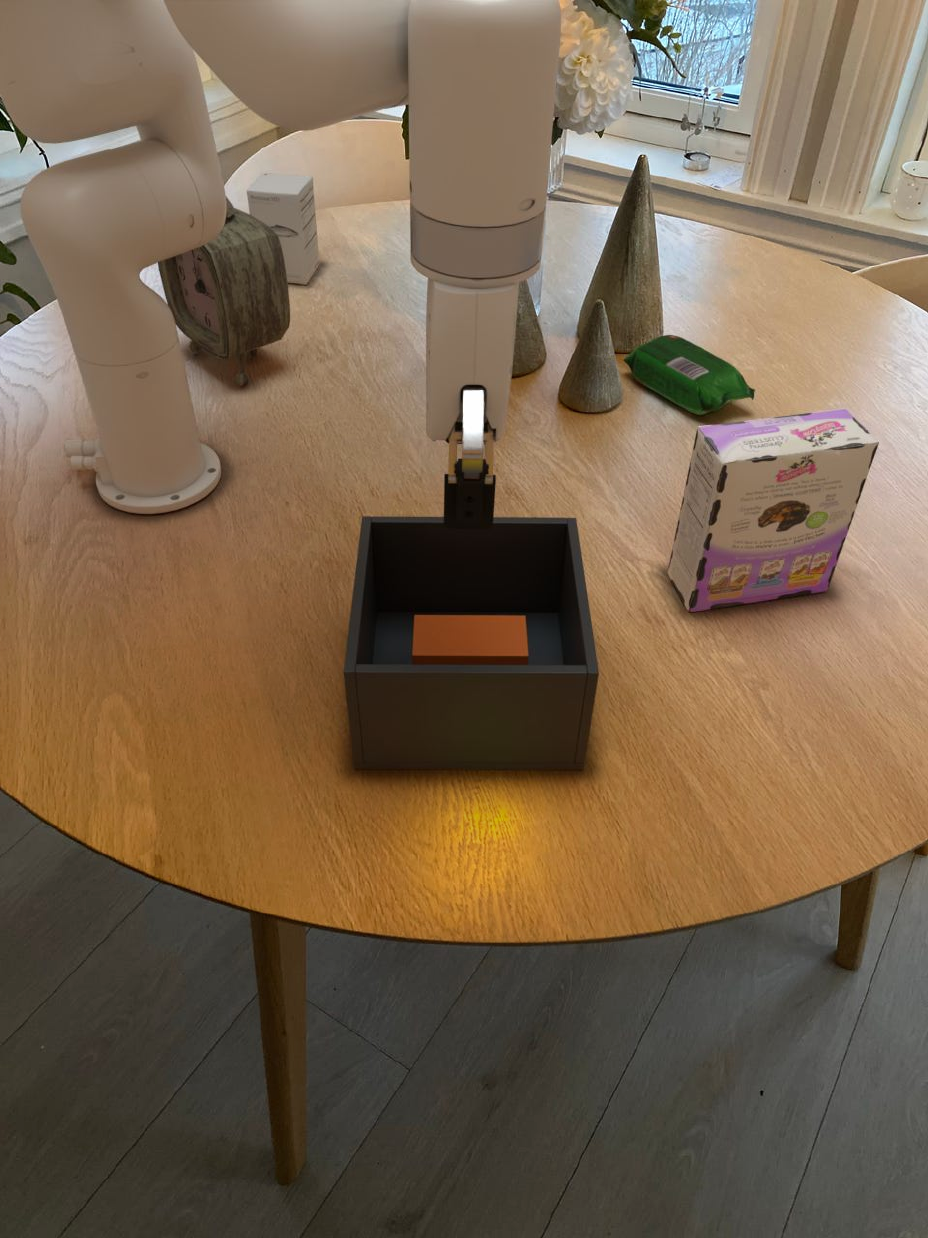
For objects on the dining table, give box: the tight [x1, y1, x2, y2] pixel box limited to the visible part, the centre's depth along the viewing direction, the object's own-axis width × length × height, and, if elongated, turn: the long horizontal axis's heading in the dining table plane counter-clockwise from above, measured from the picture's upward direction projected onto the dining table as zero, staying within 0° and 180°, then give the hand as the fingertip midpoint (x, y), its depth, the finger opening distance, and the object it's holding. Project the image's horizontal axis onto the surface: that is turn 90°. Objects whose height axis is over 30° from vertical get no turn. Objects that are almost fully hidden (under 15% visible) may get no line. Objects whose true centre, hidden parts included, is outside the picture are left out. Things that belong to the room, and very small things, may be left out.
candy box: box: [666, 407, 880, 613], centre depth 84 cm, size 14×6×16 cm, turn 102°
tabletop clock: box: [157, 171, 291, 388], centre depth 110 cm, size 14×9×25 cm, turn 42°
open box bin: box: [342, 515, 600, 771], centre depth 76 cm, size 18×18×11 cm
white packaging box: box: [246, 172, 320, 286], centre depth 133 cm, size 7×7×13 cm
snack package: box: [622, 334, 756, 416], centre depth 112 cm, size 7×16×5 cm, turn 36°
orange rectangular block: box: [412, 615, 529, 665], centre depth 77 cm, size 9×5×5 cm, turn 90°
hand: (467, 482), depth 66 cm, fingers open, 9 cm apart
